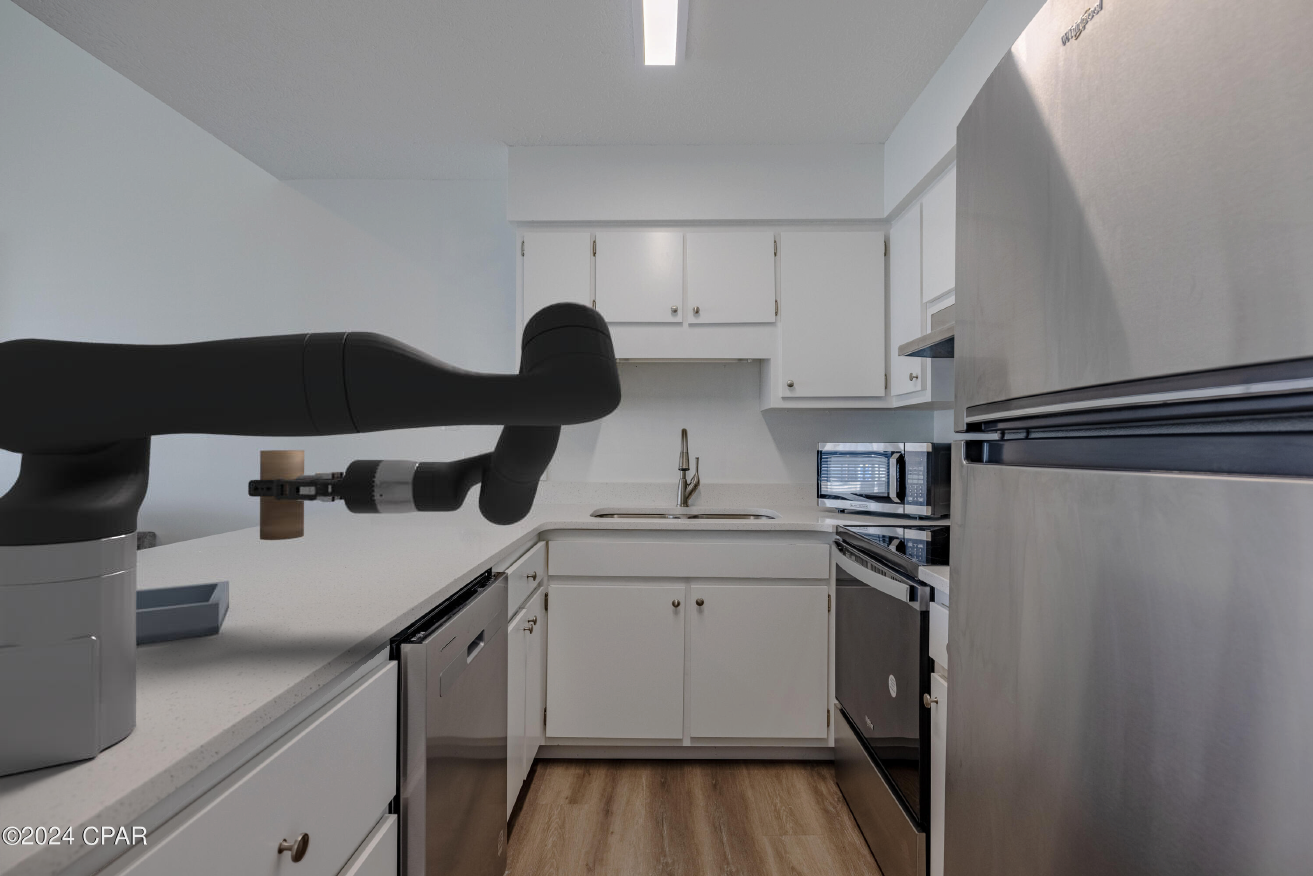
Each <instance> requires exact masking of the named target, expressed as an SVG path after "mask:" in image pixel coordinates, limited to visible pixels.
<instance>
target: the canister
mask: <svg viewBox="0 0 1313 876" xmlns="http://www.w3.org/2000/svg"><path fill="white" fill-rule="evenodd" d="M259 461H260V462H259V468H260V469H259V480H277V479H280V478H284V479H296V478H297V477H298V476H300V475H305V449H304V450H302V449H301V450H300V449H298V450H297V449H294V450H293V449H288V450H286V449H284V450H282V449H281V450H280V449H279V450H277V449H276V450H274V449H272V450H267V449H266V450H260V451H259ZM288 490H289V487H288V485H287V494H288ZM304 535H305V501H298V500H286V499H281V500H277V499H274V497H259V539H260V540H263V541H284V540H292V539H299V538H302V537H304Z"/></svg>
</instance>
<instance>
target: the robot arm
mask: <svg viewBox="0 0 1313 876" xmlns="http://www.w3.org/2000/svg"><path fill="white" fill-rule="evenodd" d="M612 339H613V338H612V335H611V331H610V328H609V325H608V323H607V322H606V320H605V318H604V316H603V315H602V314H601V312H600V311H598V310H597V309H596V308H595V307H592V306H591V305H588V304H585V303H582V302H577V301H559V302H556V303H553V304H552V303H551V304H549V305H547V306H544V307H543V308H540V309H539V310H537V311H536V312H535V313H534V314H533V315H532V316H531V317H530V318H529V319H528V321H527V322H526V324H525V326H524V329H523V332H522V336H521V343H520V344H521V345H520V347H521V348H520V351H521V353H520V363H519V364H520V365H519V370H518V373H495V372H493V373H491V372H480V371H473V370H468V369H464V368H461V367H458V366H455V365H452V364H451V363H448V362H446V361H444V360H441V359H438V358H437V357H435V356H432V355H431V354H429V353H426V352H424V351H423V350H420V349H418V348H417V347H414V346H412V345H410V344H408V343H405V342H403V341H401V340H398V339H397V338H394V337H392V336H391V337H390V336H388V335H384V334H381V333H377V332H372V331H333V332H329V331H327V332H325V331H323V332H306V333H305V332H304V333H289V334H278V335H264V336H263V335H262V336H261V335H260V336H250V337H237V338H236V337H235V338H226V339H215V340H207V341H204V340H203V341H197V342H196V341H195V342H186V343H174V344H173V343H171V344H170V343H169V344H168V343H167V344H166V343H165V344H140V343H139V344H136V343H135V344H134V343H113V342H109V343H108V342H90V341H77V340H75V341H73V340H59V339H49V338H48V339H47V338H32V337H31V338H18V339H17V338H16V339H10V340H6V341H2V342H0V450H3V451H6V452H10V453H14V454H15V453H16V454H19V455H21V457H20V458H21V459H20V465H19V466H20V467H19V468H20V469H19V474H18V477H17V478H16V480H15V482H14V484H13V485H12V486H11V487H10V488H9V489H8V491H7V492H6V493H4V495H2V496H0V777H1V776H6V775H10V774H16V773H21V772H26V771H32V770H36V769H41V768H45V767H50V766H51V767H52V766H56V765H61V764H62V765H63V764H67V763H71V762H77V761H81V760H85V759H90V758H95V757H97V756H98V755H99V754H100V752H101V751H103V750H104V749H106V748H108V747H110V746H112V745H115V744H116V743H118V742H120V741H121V740H123V739H124V738H126V737H127V736H129V735H130V734H131V733H132V732H133V731H134V729H135V728H136V726H137V645H136V590H138V589H137V568H138V567H137V566H138V565H137V564H138V514H139V511H140V509H141V506H142V504H143V502H144V500H145V498H146V496H147V492H148V487H149V480H150V465H151V446H152V436H153V437H154V436H165V435H167V436H168V435H180V434H181V435H182V434H187V435H188V434H189V435H191V434H195V435H198V434H199V435H215V436H216V435H219V436H236V437H237V436H239V437H268V438H269V437H271V438H274V437H275V438H277V437H279V438H282V437H283V438H285V437H287V438H289V437H291V438H296V437H297V438H299V437H301V438H303V437H304V438H305V437H309V438H310V437H327V436H338V435H339V436H341V435H342V436H343V435H354V434H366V433H368V434H369V433H376V432H385V431H393V430H394V431H395V430H407V429H420V428H421V429H422V428H432V427H433V428H436V427H437V428H438V427H458V426H503V428H502V429H501V432H500V434H499V437H498V439H497V442H496V445H495V447H494V450H491V451H488V452H484V453H481V454H477V455H474V456H469V457H464V458H460V459H457V460H451V461H416V460H408V459H407V460H406V459H355V460H353V461H351V462H350V463H349V465H348V466H347V467H346V469H345V471H331V472H320V473H318V472H316V473H315V474H304V475H300V476H298V477H297V478H296V479H284V478H280V479H277V480H260V479H250V480H249V482H248V483H247V485H248V486H247V487H248V488H247V494H248V495H249V497H253V498H254V497H255V498H256V497H258V498H260V497H274V499H277V500H281V499H286V500H298V501H304V502H313V501H320V502H322V503H331V502H332V503H333V502H336V501H342V500H343V501H344V506H345V508H346V509H347V510H348V511H349V512H350V513H351V514H358V515H359V514H361V515H362V514H366V515H367V514H370V515H371V514H375V515H376V514H378V515H379V514H380V515H381V514H384V515H385V514H388V515H389V514H390V515H391V514H392V515H393V514H397V515H400V514H409V513H419V512H420V513H422V512H423V513H426V512H427V513H430V512H431V513H436V512H437V513H438V512H439V513H441V512H443V513H446V512H447V513H449V512H456V511H458V510H459V509H460V508H461V507H463V504H464V502H465V500H466V498H467V495H469V492H470V490H471V489H472V488H473V487H475V486H476V485H479V484H480V490H479V495H478V510H479V512H480V513H481V515H482V517H483V518H484V519H485V520H486V521H488V522H489V523H491V524H494V525H497V526H510V525H515V524H517V523H519V522H521V521H522V520H524V519H525V518H526V517H527V516H528V514H529V513H530V511H531V510H532V507H533V504H534V502H535V501H534V500H535V498H536V496H537V491H538V487H539V483H540V481H541V478H542V476H543V475H544V473H545V472H546V470H547V468H548V467H549V465H550V463H551V461H552V460H553V457H554V455H555V453H556V450H557V449H558V448H557V447H558V444H559V439H560V435H561V431H562V430H561V429H562V426H573V425H581V424H588V423H591V422H594V421H598V420H601V419H604V418H606V417H607V416H609V415H611V414H612V413H613V412H615V411H616V410H617V409H618V407H619V406H620V403H621V400H622V387H621V379H620V374H619V368H618V365H617V359H616V354H615V349H614V344H613V340H612ZM287 485H288V487H289V490H288V494H287Z"/></svg>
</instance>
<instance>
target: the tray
mask: <svg viewBox="0 0 1313 876" xmlns="http://www.w3.org/2000/svg"><path fill="white" fill-rule="evenodd" d="M229 609H230V580H223V581H214V582H204V583H193V584H184V585H183V584H182V585H172V586H162V587H150V588H142V589H136V646H137V645H143V644H144V645H145V644H151V643H158V642H165V641H167V642H168V641H173V640H174V641H175V640H180V639H181V640H182V639H189V638H190V639H191V638H196V637H197V638H198V637H203V636H211V635H219V634H220V631H221V629H222V626H223V624H224V621H225V619H226V616H227V614H228V612H229Z"/></svg>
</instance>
